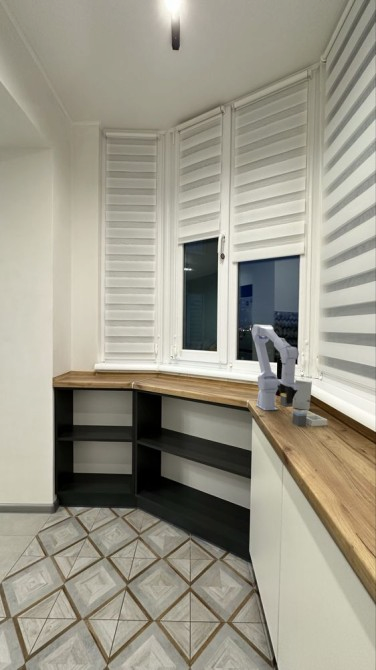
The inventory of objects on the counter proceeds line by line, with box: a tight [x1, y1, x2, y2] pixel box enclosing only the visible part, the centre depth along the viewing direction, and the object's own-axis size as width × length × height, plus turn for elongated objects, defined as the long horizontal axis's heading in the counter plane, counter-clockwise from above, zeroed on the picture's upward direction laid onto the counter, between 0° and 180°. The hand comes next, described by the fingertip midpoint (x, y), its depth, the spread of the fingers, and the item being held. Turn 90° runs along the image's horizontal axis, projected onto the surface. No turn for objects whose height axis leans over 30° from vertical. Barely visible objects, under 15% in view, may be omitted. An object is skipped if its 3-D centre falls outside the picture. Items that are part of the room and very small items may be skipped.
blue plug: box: [292, 410, 307, 427], centre depth 131 cm, size 4×4×6 cm
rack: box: [291, 409, 328, 427], centre depth 137 cm, size 14×8×2 cm, turn 15°
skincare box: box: [292, 378, 313, 411], centre depth 157 cm, size 8×6×15 cm
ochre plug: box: [279, 393, 294, 408], centre depth 140 cm, size 4×4×6 cm
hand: (286, 401), depth 140 cm, fingers closed on ochre plug, 4 cm apart
